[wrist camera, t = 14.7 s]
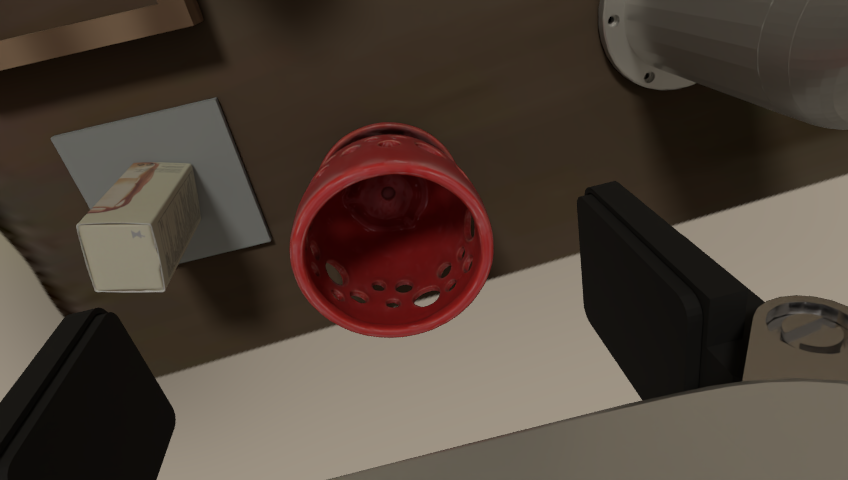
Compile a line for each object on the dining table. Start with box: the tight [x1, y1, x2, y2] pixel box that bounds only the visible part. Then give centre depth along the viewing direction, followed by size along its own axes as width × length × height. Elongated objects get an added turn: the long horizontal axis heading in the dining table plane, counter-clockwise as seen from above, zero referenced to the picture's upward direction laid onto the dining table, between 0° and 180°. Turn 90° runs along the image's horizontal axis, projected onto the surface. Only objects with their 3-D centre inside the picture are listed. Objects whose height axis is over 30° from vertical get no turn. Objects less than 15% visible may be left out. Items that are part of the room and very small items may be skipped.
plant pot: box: [290, 122, 494, 338], centre depth 39 cm, size 13×13×12 cm
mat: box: [51, 97, 272, 264], centre depth 42 cm, size 12×12×1 cm
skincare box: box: [76, 162, 201, 292], centre depth 37 cm, size 5×4×10 cm
